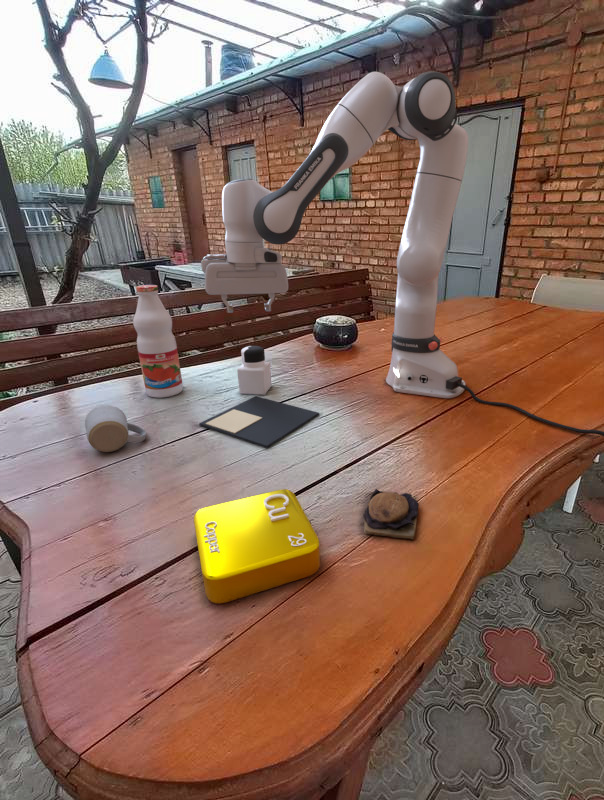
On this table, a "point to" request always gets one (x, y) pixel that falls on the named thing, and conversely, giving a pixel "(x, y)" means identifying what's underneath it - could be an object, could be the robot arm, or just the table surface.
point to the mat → (260, 421)
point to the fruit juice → (156, 345)
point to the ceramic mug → (110, 429)
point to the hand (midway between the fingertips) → (249, 311)
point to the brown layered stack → (391, 515)
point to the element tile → (254, 545)
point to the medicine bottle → (254, 371)
